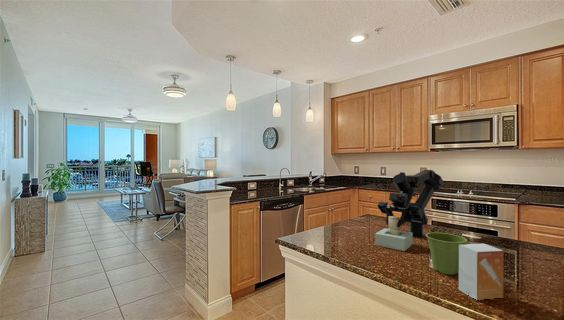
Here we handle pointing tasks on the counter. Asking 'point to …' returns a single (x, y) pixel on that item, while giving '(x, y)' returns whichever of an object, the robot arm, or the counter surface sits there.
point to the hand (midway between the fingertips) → (392, 225)
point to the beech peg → (393, 226)
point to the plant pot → (445, 251)
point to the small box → (481, 271)
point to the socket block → (394, 240)
